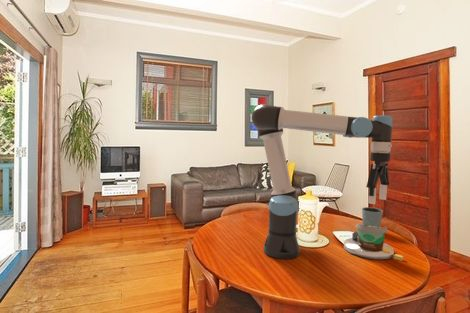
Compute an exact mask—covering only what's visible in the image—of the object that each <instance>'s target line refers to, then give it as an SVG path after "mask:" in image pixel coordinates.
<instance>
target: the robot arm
mask: <svg viewBox="0 0 470 313" xmlns="http://www.w3.org/2000/svg"><path fill="white" fill-rule="evenodd" d="M251 122H252V124H253V126H254V127H255V128H256V129H257V133H258V137H259V139H261V140H263V146H264V147H263V148H264V150H265V156H266V159H267V160H266V161H267V165H268V170H269V176H270V180H271V184H272V188H273V189H272V191H271V193H270V195H271V198H270V199H269V203H268V233H267V236H266V238H265V242H264V245H263V252H264V254H265V255H267V256H268V257H271V258H275V259H280V260H289V259H291V260H292V259H295V258H297V257H299V256H300V250H301V249H300V245H299V241H298V238H297V223H298V222H297V220H298V219H297V218H298V214H299V212H300V210H299V209H300V208H301V207H300V208H299V202H300V200H299V198H298V194H297V191H296V188H295V187H293V185H292V183H291V177H290V173H289V172H290V171H289V168H288V162H287V158H286V154H285V150H284V144H283V140H282V135H283V134H284V129H289V130H297V131H305V132H314V133H315V132H316V133H323V134H329V135H330V134H331V135H340V136H343V137H344V138H350V139H351V138H356V139H357V138H358V139H359V138H360V139H361V138H363V139H365V138H366V139H367V138H368V139H371V141H370V142H371V144H370V151H371V152H370V158H369V159H370V162H374V163H371V165H370V169H369V174H368V178H367V183H366V186H365V187H366V188H367V189H368V196H367V204H371V205H376V201H377V200H376V199H377V188H376V187H377V184H378V181H380V184H379V195H378V196H379V197H378V200H384V201H386V200H387V193H388V192H387V190H388V186H390V178H389V168H388V167H389V166H388V165H389V162H390V161H391V153H390V152H391V148H392V147H393V145H392V135H393V134H392V133H393V128H394V126H393V116H391V115H388V114H387V115H383V114H382V115H373V117H372V119H369V118H368V117H365V116H359V117H357V116H356V117H355V116H346V115H338V114H328V113H320V112H319V113H318V112H317V113H316V112H308V111H299V110H290V109H285V108H284V107H282V106H276V105H271V104H268V103H263V104H260V105H257V106H255V108H254V109H253V110H252V113H251ZM298 200H299V201H298Z"/></svg>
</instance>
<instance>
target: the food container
mask: <svg viewBox="0 0 470 313" xmlns="http://www.w3.org/2000/svg"><path fill="white" fill-rule="evenodd" d="M355 228H356V229H357V232H358V242H359V247H361V248H363V249H366V250H370V251H381V250H382V249H383V244H384V243H385V236H386V233H388V227H387V226H384V227H383V226H382V227H376V226H372V225H362V224H360V223H359V222H357V223H356V225H355Z"/></svg>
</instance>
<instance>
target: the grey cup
mask: <svg viewBox="0 0 470 313" xmlns="http://www.w3.org/2000/svg"><path fill="white" fill-rule="evenodd" d="M361 214H362V216H361V217H362V224H361V225H372V226H376V227H381V225H382V219H383V218H382V217H383V214H384V211H383V210H382V209H380V208H377V207H370V206H369V207H368V206H367V207H365V206H364V207H362V208H361ZM381 228H382V227H381Z"/></svg>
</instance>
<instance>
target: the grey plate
mask: <svg viewBox="0 0 470 313" xmlns="http://www.w3.org/2000/svg"><path fill="white" fill-rule="evenodd" d="M343 248H344V250H345V251H347V252H348V253H349V254H351V255H355V256H357V257H361V258H365V259H370V260H389V259H393V258H394V252H395V250H394V248H393V247H392V246H391V245H390V244H388V243H386V242H384V244H383V249H382V250H381V251H370V250H366V249H363V248H361V247H359V242H358V231H356V230H354V231H352V237H351V238H350V237H349V238H346V239H345V240H344V241H343Z"/></svg>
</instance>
